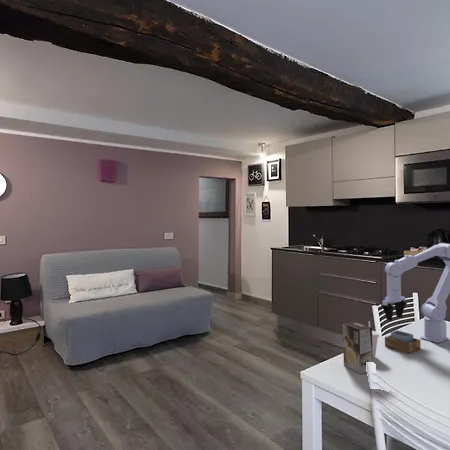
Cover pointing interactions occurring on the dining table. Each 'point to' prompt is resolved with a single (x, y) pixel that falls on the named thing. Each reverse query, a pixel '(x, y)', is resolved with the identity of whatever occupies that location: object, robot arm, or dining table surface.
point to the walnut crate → (402, 345)
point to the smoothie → (374, 341)
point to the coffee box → (357, 346)
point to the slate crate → (402, 336)
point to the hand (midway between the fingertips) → (394, 318)
